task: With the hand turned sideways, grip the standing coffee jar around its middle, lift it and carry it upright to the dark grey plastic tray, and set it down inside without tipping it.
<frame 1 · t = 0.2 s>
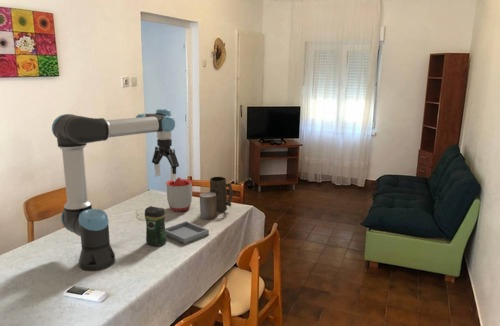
hand: (165, 177, 215), 27 cm above the table, tool pointing down, fingers open, 13 cm apart
coffee jar: (156, 243, 198), on the table
tray: (185, 234, 208), on the table
pillar candle: (208, 217, 234), on the table
citrus juicer: (179, 208, 248), on the table
beer stein: (221, 209, 246), on the table
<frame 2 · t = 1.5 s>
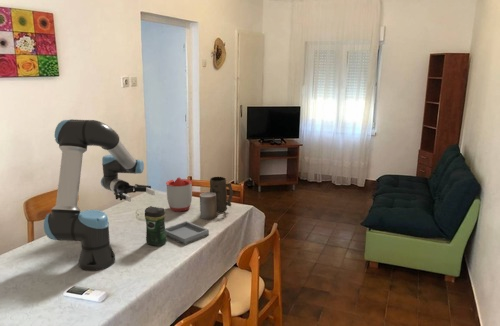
hand: (142, 195, 200), 22 cm above the table, tool horizontal, fingers open, 13 cm apart
nothing on the table moved.
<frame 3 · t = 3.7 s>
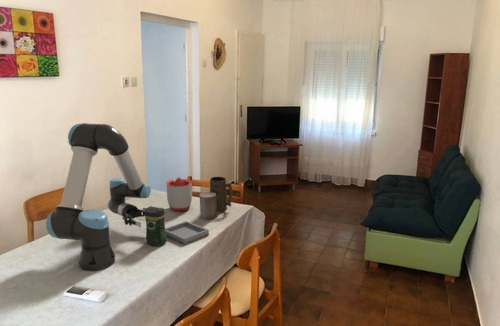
hand: (152, 220, 199), 10 cm above the table, tool horizontal, fingers open, 13 cm apart
nothing on the table moved.
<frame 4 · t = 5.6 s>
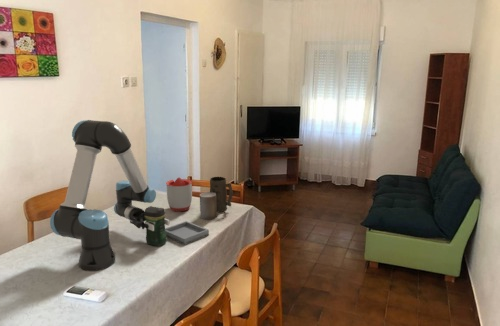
hand: (161, 225, 192), 11 cm above the table, tool horizontal, fingers closed on coffee jar, 8 cm apart
coffee jar: (156, 243, 198), on the table, touching gripper
everything else where it was.
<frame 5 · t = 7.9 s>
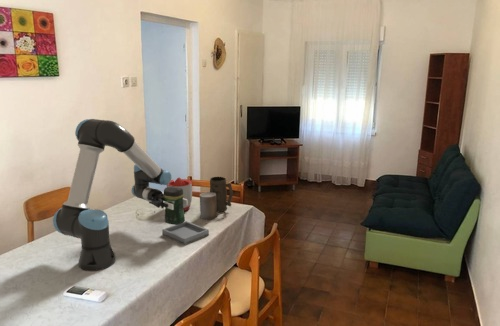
hand: (180, 204, 198), 18 cm above the table, tool horizontal, fingers closed on coffee jar, 8 cm apart
coffee jar: (175, 222, 203), point 8 cm above the table, touching gripper
everything else where it was.
when the fingers open (13 cm above the table, at t = 10.4 s): coffee jar drops 1 cm, resting on tray.
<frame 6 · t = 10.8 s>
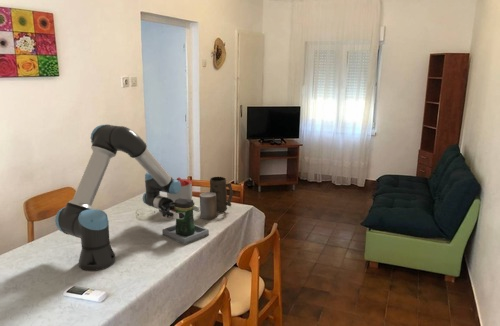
hand: (189, 212, 202), 13 cm above the table, tool horizontal, fingers open, 13 cm apart
coffee jar: (185, 233, 207), point 1 cm above the table, touching tray
everything else where it was.
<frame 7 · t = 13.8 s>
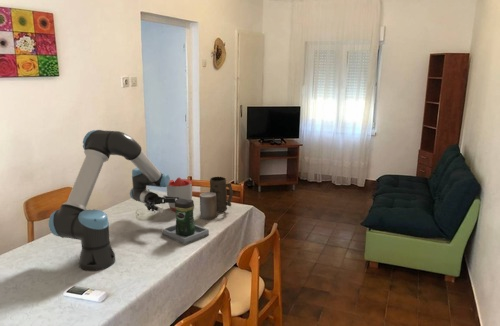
hand: (173, 206, 211), 13 cm above the table, tool horizontal, fingers open, 13 cm apart
nothing on the table moved.
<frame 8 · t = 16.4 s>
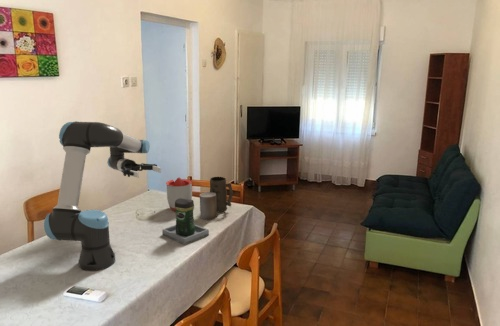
hand: (149, 172, 206), 32 cm above the table, tool horizontal, fingers open, 13 cm apart
nothing on the table moved.
at the end: coffee jar inside the target area on the tray (0.1 cm from its centre), point 0.8 cm above the tray's base; coffee jar tilted 0°; the gripper is holding nothing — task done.
